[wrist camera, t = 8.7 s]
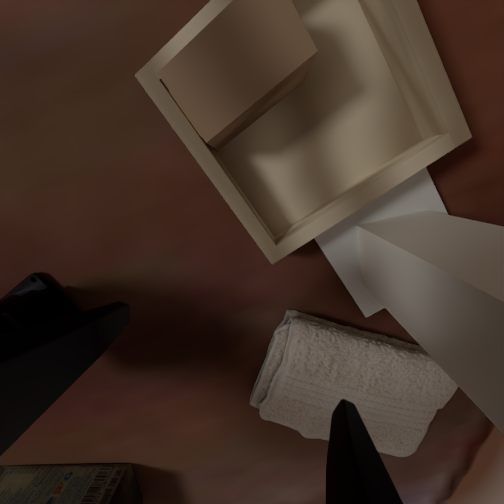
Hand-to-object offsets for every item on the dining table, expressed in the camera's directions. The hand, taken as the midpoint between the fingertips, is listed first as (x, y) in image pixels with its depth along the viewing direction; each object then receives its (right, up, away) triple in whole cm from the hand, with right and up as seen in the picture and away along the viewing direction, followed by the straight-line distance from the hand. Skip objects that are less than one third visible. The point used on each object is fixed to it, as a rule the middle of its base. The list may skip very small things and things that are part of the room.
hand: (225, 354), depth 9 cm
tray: (+4, +13, +7) cm, 16 cm away
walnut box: (0, +15, +6) cm, 16 cm away
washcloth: (+11, -8, +15) cm, 20 cm away
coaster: (+12, +4, +10) cm, 16 cm away
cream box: (+12, +4, +9) cm, 16 cm away
